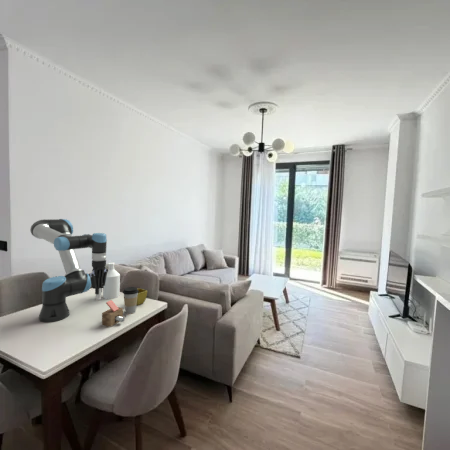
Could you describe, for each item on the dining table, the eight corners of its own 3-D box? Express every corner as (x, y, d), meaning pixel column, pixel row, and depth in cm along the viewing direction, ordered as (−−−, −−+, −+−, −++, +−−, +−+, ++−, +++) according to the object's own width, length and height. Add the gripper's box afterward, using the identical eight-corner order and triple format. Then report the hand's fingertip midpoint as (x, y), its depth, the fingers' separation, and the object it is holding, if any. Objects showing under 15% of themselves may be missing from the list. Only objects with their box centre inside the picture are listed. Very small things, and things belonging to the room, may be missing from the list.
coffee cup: (133, 315, 159) (133, 292, 158) (119, 313, 160) (119, 290, 160) (141, 309, 168) (141, 287, 167) (128, 308, 170) (128, 286, 169)
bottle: (100, 299, 184) (100, 265, 182) (104, 293, 196) (104, 261, 194) (118, 298, 186) (118, 264, 185) (121, 293, 198) (121, 261, 196)
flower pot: (147, 303, 180) (147, 290, 179) (137, 306, 173) (137, 293, 172) (139, 300, 185) (139, 288, 184) (129, 303, 177) (129, 291, 177)
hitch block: (102, 325, 145) (102, 312, 145) (114, 317, 155) (114, 306, 154) (110, 326, 143) (110, 314, 143) (122, 319, 153) (122, 308, 152)
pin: (103, 321, 148) (103, 314, 148) (109, 318, 152) (109, 311, 152) (120, 325, 145) (120, 317, 145) (125, 321, 149) (125, 314, 149)
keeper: (105, 303, 147) (106, 302, 147) (110, 300, 151) (111, 299, 151) (113, 312, 146) (114, 311, 146) (118, 309, 150) (119, 308, 150)
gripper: (95, 262, 142) (95, 303, 144) (112, 258, 154) (111, 296, 156) (84, 261, 144) (84, 301, 146) (102, 257, 157) (101, 294, 158)
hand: (98, 298), depth 151 cm, fingers closed
